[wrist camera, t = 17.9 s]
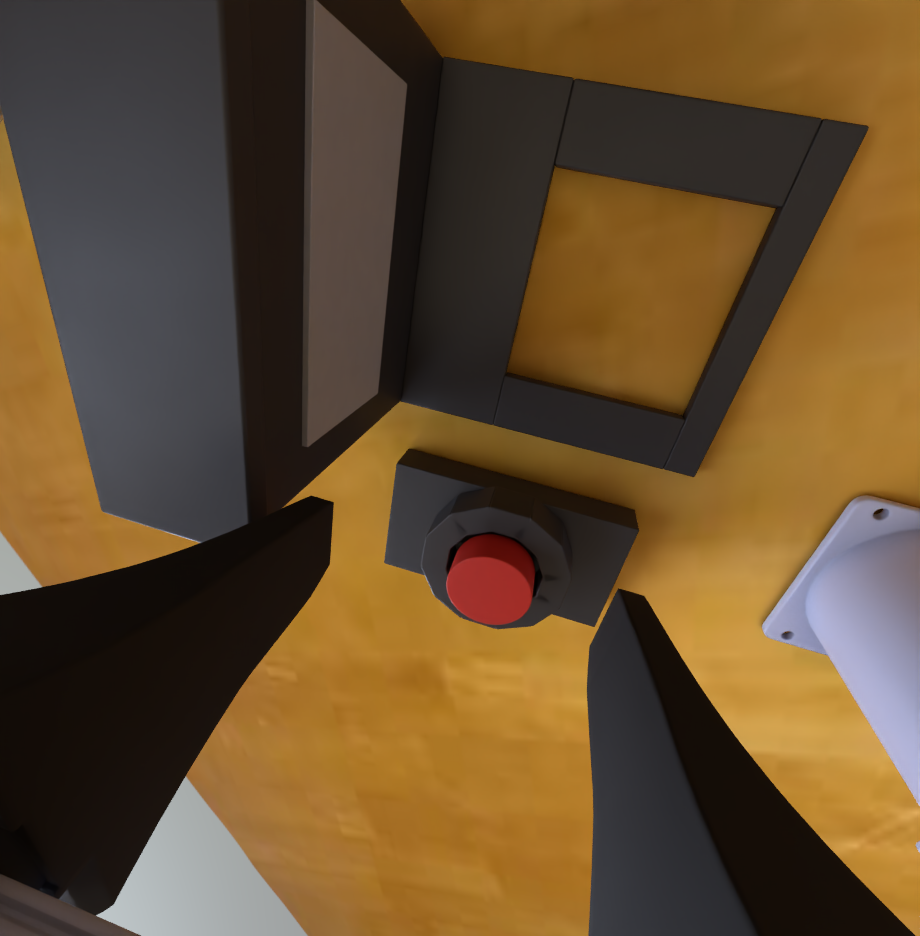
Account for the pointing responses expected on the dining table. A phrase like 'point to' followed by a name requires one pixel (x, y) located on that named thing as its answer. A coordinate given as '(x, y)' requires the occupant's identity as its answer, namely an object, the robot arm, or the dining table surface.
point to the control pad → (508, 533)
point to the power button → (491, 579)
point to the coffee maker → (342, 236)
